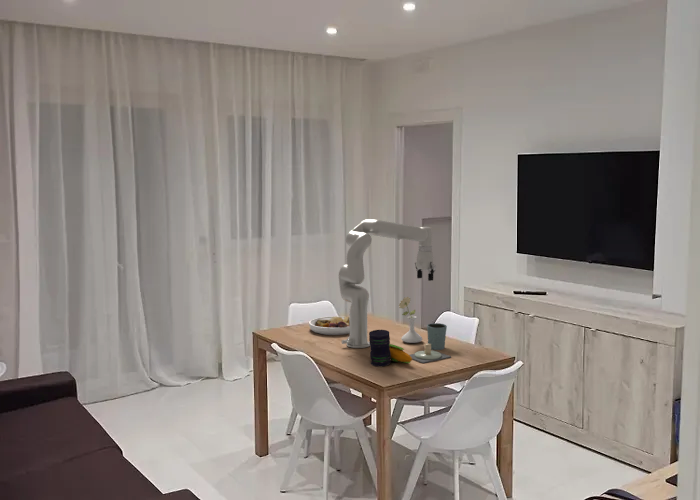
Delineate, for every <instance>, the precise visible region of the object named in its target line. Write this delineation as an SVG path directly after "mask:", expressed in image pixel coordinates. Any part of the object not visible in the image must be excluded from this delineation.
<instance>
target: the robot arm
mask: <svg viewBox="0 0 700 500" xmlns="http://www.w3.org/2000/svg"><path fill="white" fill-rule="evenodd" d="M372 236H373V237H374V236H376V237H382V238H388V239H393V240H394V239H395V240H407V241H412V242H413V241H414V242H418V250H417V253H416V261H415V262H414V266H415V269H416V271H417V272H416V276H417V277H416V279H423V271H422V270H424V271H427V272H428V275H427V279H428V280H427V281H429V282H431V281H434V274H435V272H436V269H437V266H436V265H435V263H434V254H433V228H432V227H430V226H420V227H419V226H412V225H407V224H403V223H402V224H401V223H397V222H393V221H387V220H380V219H373V218H372V219H371V218H368V219H364V220H362V221H361V222H360V223H359V224H358V225H356V226H355V227H353V229H351V230H350V231H349V232H348V233H347V235H346V236H345V241H346V244H347V246H349V248H348V250H347V253H346V264H343V265H342V266H341V267H340V269H339V271H338V285H339V292H340V296H341V298H342V299H343V300H344V301H345V302H347V303H350V308H349V312H348V317H349V334H348V335H349V336H347V338H346V339H342V340H341V344H342V345H344V344H346V346H347V347H348V348H351V349H352V348H353V349H364V348H365V349H366V348H369V347H370V343H369V342H370V341H369V340H368V305H369V301H370V294H369V291H368V290H367V289H366V288H365V287H363V286H359V285H361V284H362V283H363V282H364V281H365V268H364V267H365V266H364V254H365V252H366V250H367V249H368V248H369V247H370V246H371V244H372Z"/></svg>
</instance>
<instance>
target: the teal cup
mask: <svg viewBox="0 0 700 500" xmlns="http://www.w3.org/2000/svg"><path fill="white" fill-rule="evenodd" d="M447 326H448V325H447V324H444V323H438V322H436V323H435V322H434V323H428V324H427V325H426V330H427V331H426V332H427V343H429V344H431V350H434V351H441V350H444V349H445V347H446V346H445V345H446V335H447Z"/></svg>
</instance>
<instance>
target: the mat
mask: <svg viewBox="0 0 700 500" xmlns="http://www.w3.org/2000/svg"><path fill="white" fill-rule="evenodd" d="M431 351H436V352H439V351H438V350H432V349H431ZM439 353H441V357H440V358H438V359H434V360H424V359H419V358H416V357H415V353H411V354H409V355H410V356H411V357H412V361H415V362H418V363H420V364H422V363H423V364H427V363H431V362H432V363H433V362H437V361H441V359H442V360H446V358H447V359H451V358H452V356H451V355H448V354H445V353H442V352H439Z"/></svg>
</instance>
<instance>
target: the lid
mask: <svg viewBox="0 0 700 500" xmlns="http://www.w3.org/2000/svg"><path fill="white" fill-rule="evenodd" d="M431 350H432V349H431V344H429V343H428V342H427V343H424V350H419V351H418V350H417V351H415V352H414V354H415V357H416V358H419V359H424V360H434V359H438V358H440V357H441V353H442V352H440V353H439V351H437V350H434V351H431ZM436 351H437V352H436Z"/></svg>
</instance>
